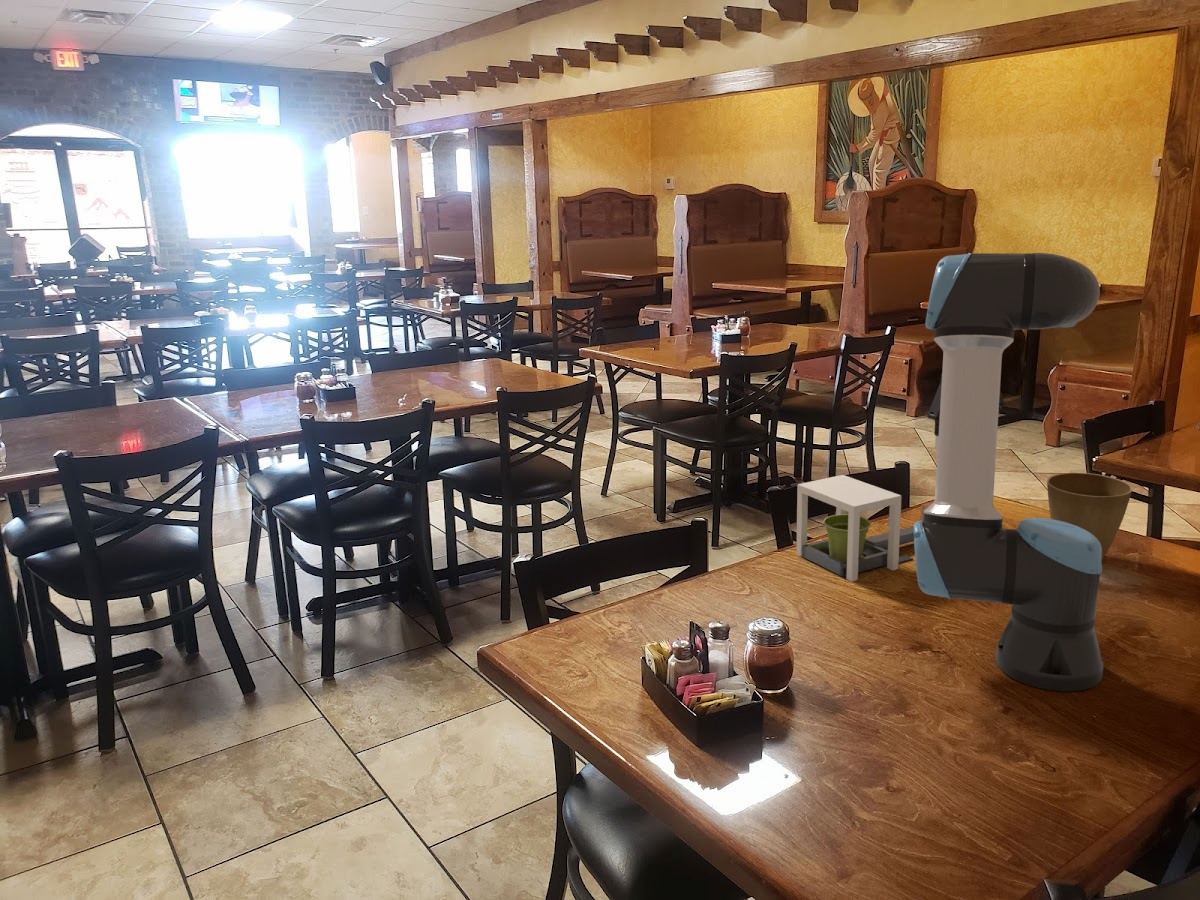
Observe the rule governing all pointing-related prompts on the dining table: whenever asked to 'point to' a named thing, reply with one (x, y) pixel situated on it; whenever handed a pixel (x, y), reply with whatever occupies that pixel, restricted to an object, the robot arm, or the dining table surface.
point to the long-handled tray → (872, 549)
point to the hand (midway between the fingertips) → (964, 445)
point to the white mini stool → (851, 514)
